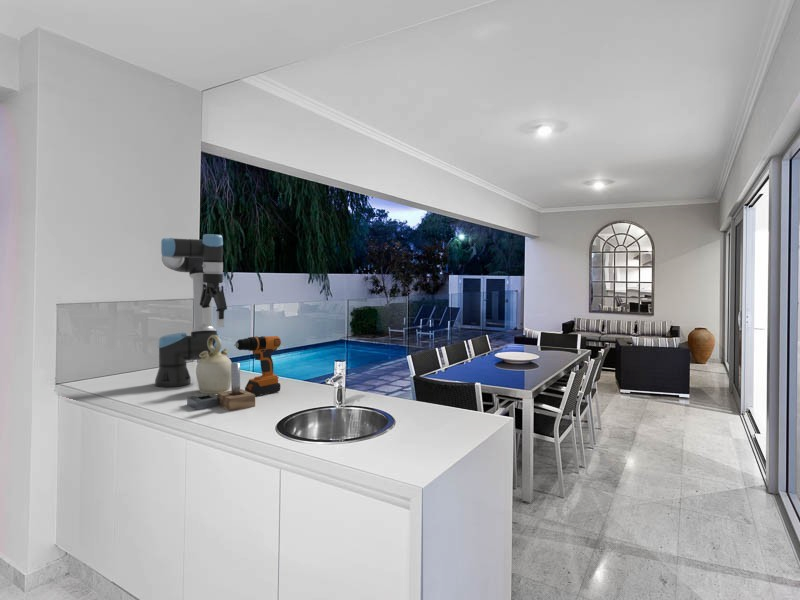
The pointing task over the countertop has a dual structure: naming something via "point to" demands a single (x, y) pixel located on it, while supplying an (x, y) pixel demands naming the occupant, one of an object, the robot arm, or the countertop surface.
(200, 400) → the socket block
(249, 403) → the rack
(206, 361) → the jug
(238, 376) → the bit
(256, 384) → the power drill
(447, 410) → the countertop surface
